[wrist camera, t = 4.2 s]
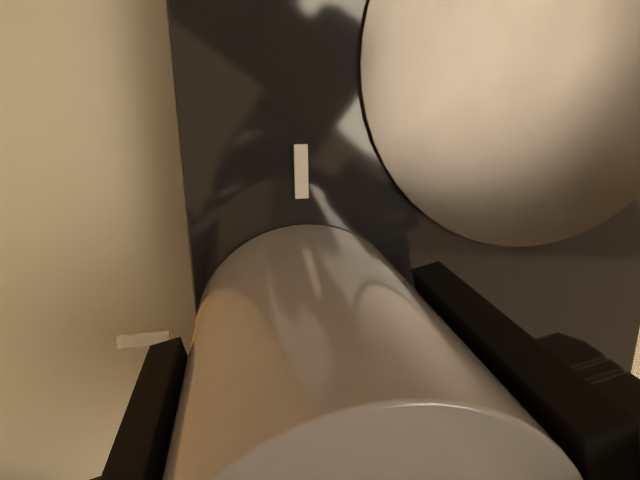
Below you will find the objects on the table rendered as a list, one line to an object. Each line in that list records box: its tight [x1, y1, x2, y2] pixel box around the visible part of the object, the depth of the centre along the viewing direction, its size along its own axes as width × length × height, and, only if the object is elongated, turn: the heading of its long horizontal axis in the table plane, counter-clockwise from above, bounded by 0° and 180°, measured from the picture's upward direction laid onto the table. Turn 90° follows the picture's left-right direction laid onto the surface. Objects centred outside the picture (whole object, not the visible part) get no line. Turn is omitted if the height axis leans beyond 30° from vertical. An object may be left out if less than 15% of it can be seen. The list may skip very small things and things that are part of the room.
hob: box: [115, 0, 640, 373], centre depth 14 cm, size 19×16×3 cm
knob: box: [163, 224, 583, 480], centre depth 10 cm, size 6×6×8 cm
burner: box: [358, 0, 640, 247], centre depth 13 cm, size 10×10×1 cm
